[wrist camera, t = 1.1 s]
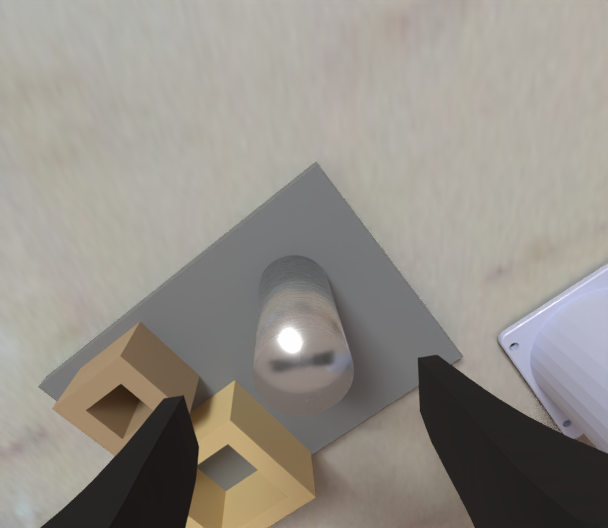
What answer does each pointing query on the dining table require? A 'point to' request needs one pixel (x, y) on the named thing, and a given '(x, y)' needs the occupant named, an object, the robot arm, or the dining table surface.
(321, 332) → the metal round peg
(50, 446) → the dining table surface
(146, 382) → the fitting board
